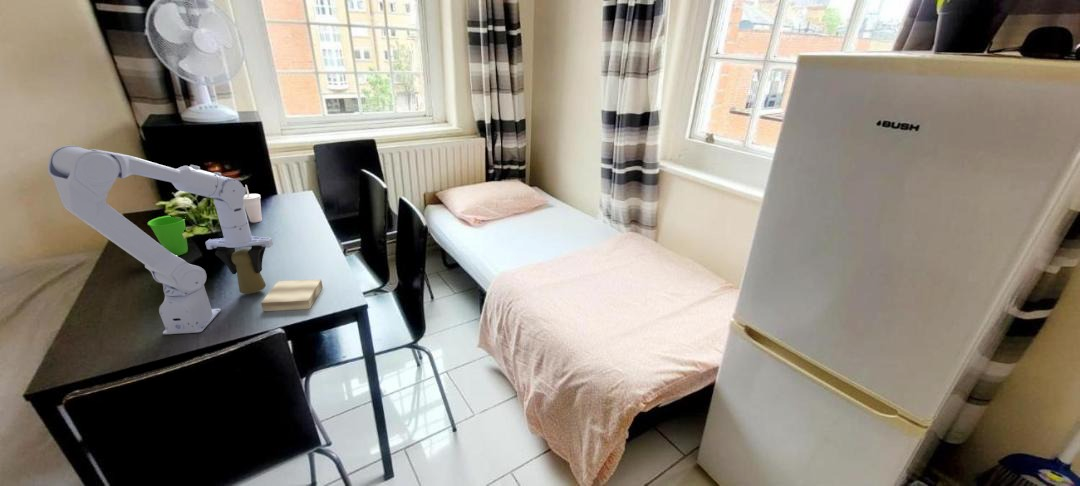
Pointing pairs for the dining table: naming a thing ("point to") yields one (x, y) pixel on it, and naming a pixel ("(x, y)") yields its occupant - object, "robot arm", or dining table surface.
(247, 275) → the cork
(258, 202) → the smoothie
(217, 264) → the dining table surface
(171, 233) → the cup
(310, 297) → the birch riser block
